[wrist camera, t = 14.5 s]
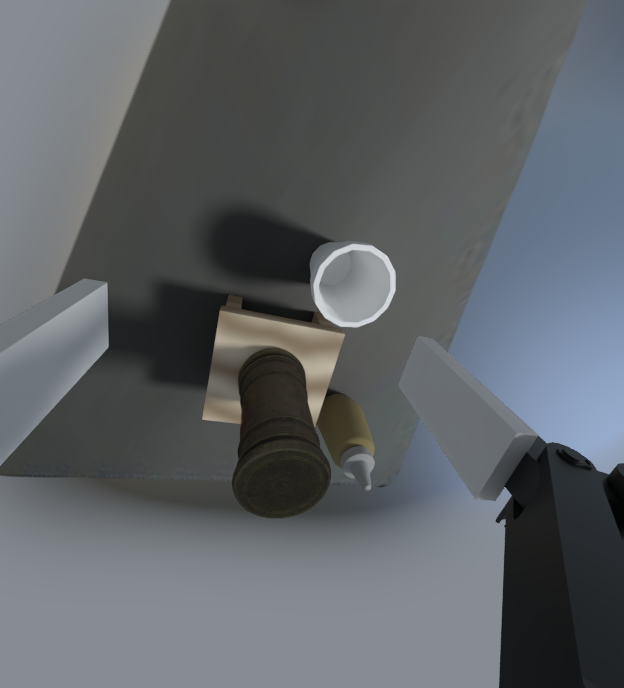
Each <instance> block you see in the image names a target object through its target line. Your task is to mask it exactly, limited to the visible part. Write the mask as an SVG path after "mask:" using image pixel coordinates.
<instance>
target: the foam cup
mask: <svg viewBox="0 0 624 688" xmlns="http://www.w3.org/2000/svg"><path fill="white" fill-rule="evenodd" d="M310 272H311V278H310V284H311V293H312V298H313V300H314V302H315V304H316V305H317V307H318V308H319V310H320V311H321V313H322V314H323V316H324V317H325V318H326V319H328V320H329V321H331V322H333V323H335V324H337V325H338V326H342V327H359V326H362V325H365V324H367V323H370V322H372V321H375V320H376V319H377V318H378V317H379V316H380V315H381V314H382V313H383V312H384V311H385V310H386V309H387V308H388V306H389V304H390V302H391V300H392V297H393V295H394V293H395V271H394V269H393V267H392V265H391V263H390V261H389V259H388V257H387V256H386V255H385V254H383V253H382V252H381V251H379V250H378V249H376V248H375V247H373V246H372V245H369V244H367V243H364V242H354V241H346V242H343V243H340V242H329V243H326V244H323V245H321V246H319V247H318V248H317V249H316V250H315V251H314V253H313V254H312V257H311V260H310Z"/></svg>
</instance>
